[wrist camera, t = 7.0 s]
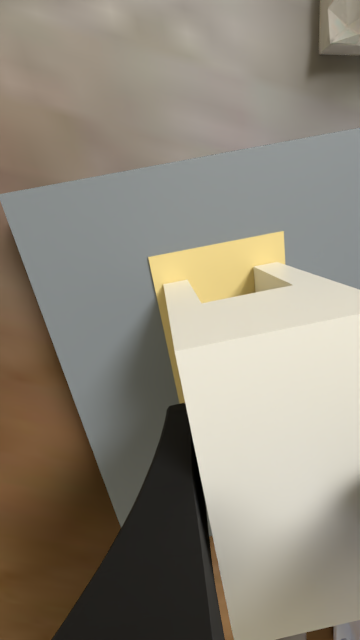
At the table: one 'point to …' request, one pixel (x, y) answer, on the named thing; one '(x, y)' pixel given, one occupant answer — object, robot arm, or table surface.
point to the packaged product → (339, 27)
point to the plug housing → (277, 445)
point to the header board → (172, 270)
